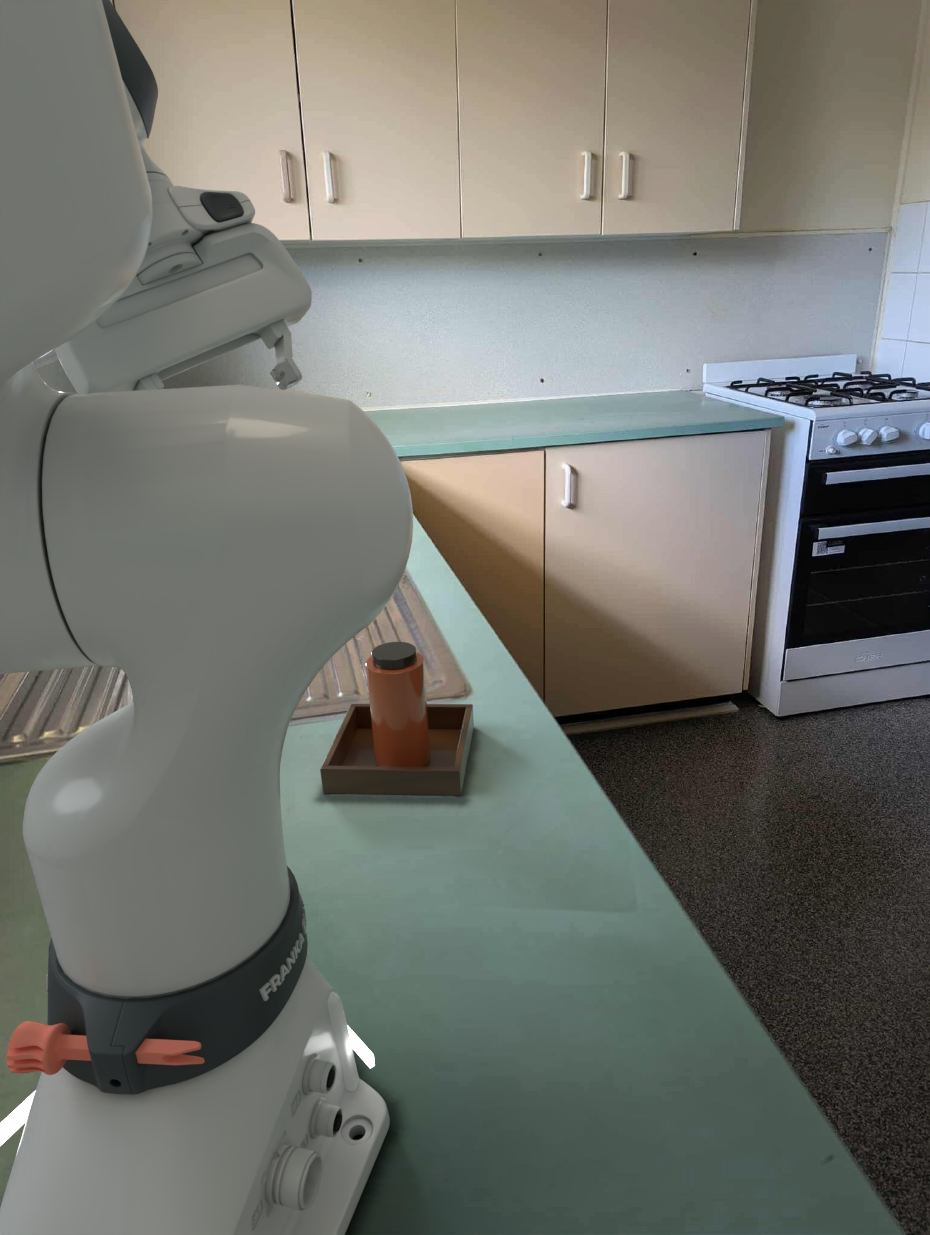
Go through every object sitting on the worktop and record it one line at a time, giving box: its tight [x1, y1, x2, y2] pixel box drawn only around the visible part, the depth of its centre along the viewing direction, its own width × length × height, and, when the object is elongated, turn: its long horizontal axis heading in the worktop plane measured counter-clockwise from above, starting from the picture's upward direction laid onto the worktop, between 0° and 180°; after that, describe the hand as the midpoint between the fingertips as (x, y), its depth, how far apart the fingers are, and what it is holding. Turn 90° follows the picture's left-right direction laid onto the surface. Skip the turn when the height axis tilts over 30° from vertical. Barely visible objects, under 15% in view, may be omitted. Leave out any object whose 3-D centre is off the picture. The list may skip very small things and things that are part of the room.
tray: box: [319, 703, 475, 797], centre depth 81 cm, size 12×12×3 cm
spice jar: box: [365, 641, 431, 767], centre depth 80 cm, size 5×5×11 cm
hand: (245, 407), depth 68 cm, fingers open, 8 cm apart
